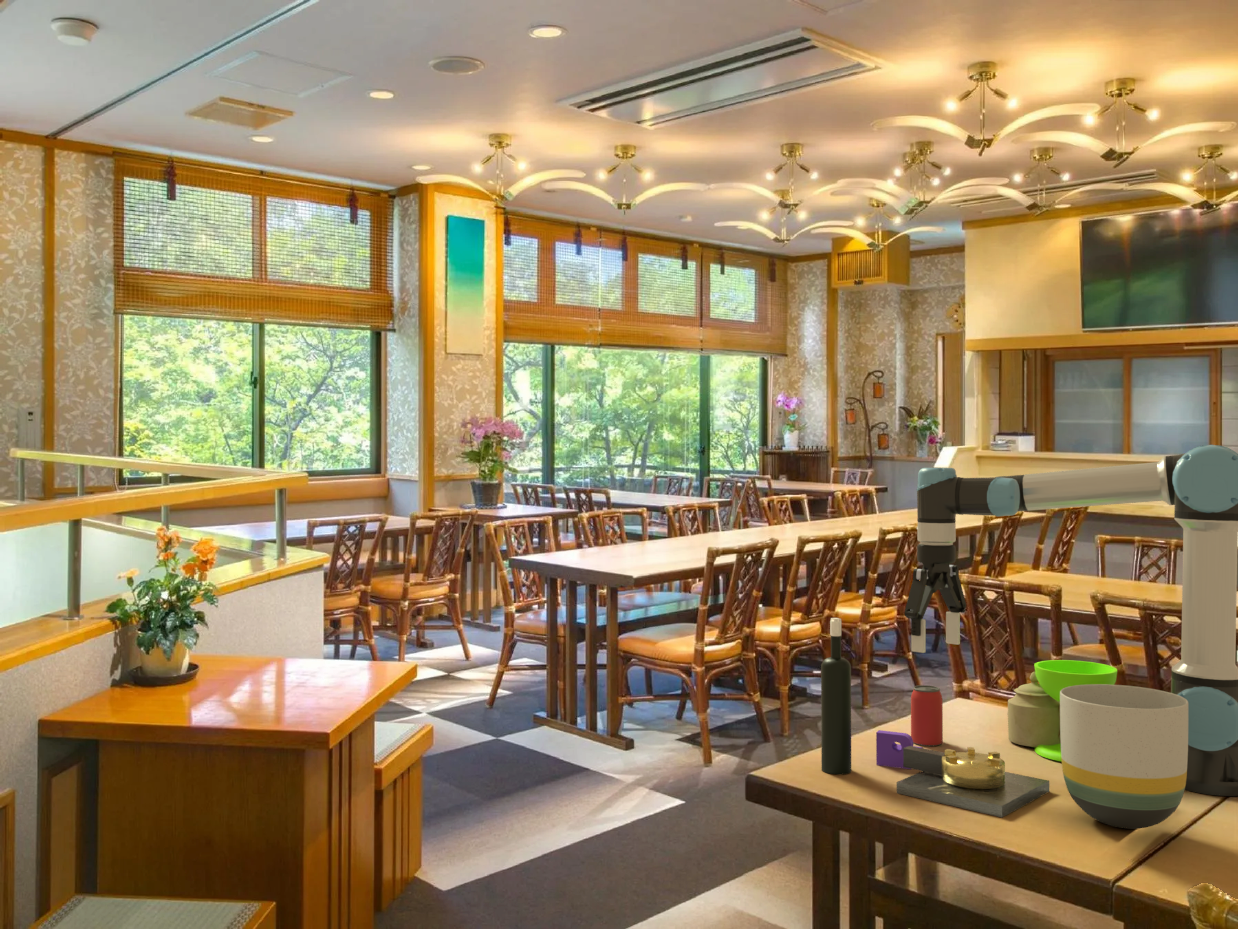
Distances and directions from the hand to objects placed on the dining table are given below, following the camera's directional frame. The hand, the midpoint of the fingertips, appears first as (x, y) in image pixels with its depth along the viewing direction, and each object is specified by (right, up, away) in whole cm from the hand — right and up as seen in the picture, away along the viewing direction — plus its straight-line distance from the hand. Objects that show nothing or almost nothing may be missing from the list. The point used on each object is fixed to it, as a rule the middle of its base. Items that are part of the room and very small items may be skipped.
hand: (936, 648), depth 219 cm
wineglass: (+31, -23, +5) cm, 39 cm away
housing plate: (+1, -23, -21) cm, 31 cm away
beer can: (+2, -23, +14) cm, 27 cm away
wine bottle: (-22, -23, -7) cm, 32 cm away
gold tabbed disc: (-2, -21, -18) cm, 28 cm away
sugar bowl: (+27, -23, +12) cm, 37 cm away
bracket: (-7, -24, +1) cm, 25 cm away
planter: (+20, -23, -38) cm, 49 cm away
